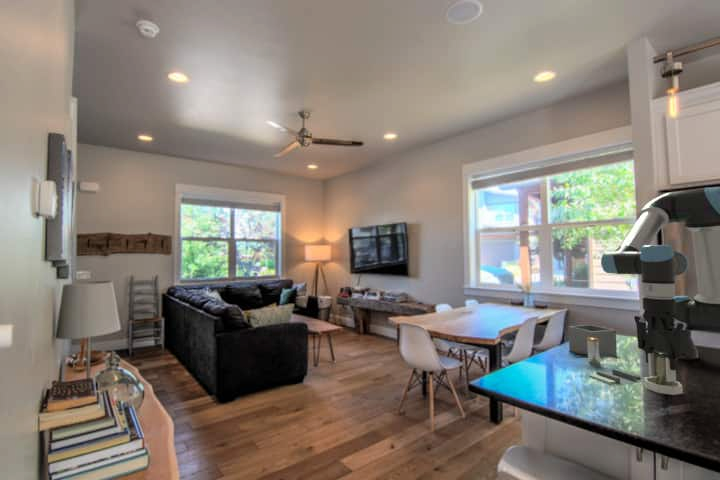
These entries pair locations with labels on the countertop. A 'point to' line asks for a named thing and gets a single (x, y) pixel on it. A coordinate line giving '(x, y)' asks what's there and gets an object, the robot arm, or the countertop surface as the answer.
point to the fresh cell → (593, 350)
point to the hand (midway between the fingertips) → (662, 377)
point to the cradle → (616, 377)
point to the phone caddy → (582, 332)
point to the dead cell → (661, 369)
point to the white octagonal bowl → (663, 386)
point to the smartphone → (581, 353)
